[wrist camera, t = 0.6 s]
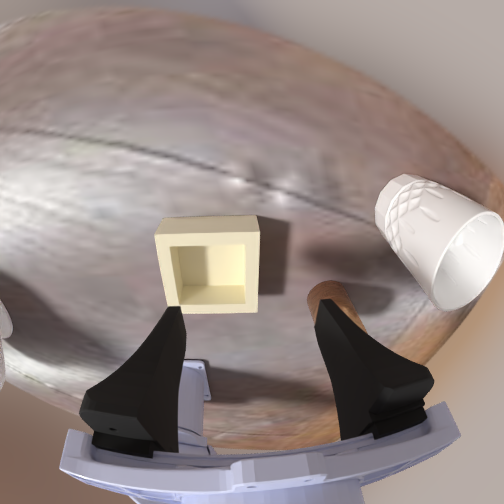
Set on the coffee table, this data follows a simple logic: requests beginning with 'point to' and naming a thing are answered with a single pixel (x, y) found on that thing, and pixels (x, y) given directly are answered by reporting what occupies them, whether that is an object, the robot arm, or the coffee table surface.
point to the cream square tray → (210, 263)
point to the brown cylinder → (337, 295)
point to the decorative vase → (3, 328)
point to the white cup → (441, 238)
